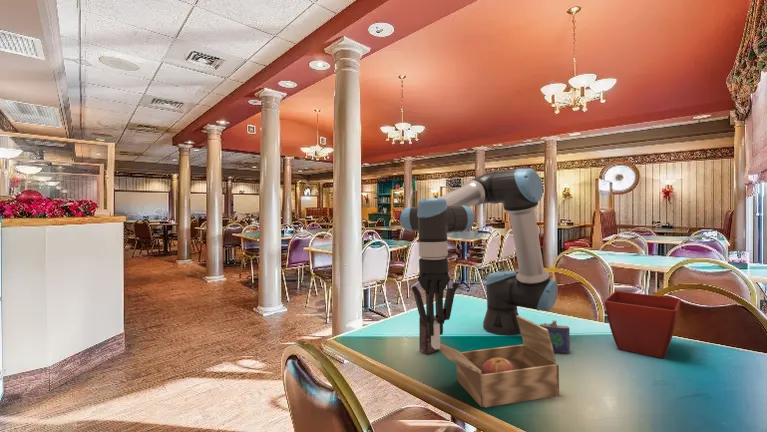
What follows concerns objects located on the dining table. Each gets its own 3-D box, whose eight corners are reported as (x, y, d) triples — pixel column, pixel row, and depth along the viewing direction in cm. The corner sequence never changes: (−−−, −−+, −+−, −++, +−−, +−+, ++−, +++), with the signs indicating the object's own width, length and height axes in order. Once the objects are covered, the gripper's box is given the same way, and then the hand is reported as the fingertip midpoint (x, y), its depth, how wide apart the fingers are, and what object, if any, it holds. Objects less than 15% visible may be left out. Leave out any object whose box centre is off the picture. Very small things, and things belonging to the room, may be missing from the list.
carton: (524, 370, 108) (523, 344, 108) (559, 395, 94) (558, 364, 94) (456, 380, 104) (456, 352, 103) (482, 407, 89) (481, 375, 89)
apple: (512, 400, 92) (511, 369, 92) (478, 391, 97) (477, 362, 97) (519, 385, 100) (518, 356, 99) (487, 378, 104) (486, 351, 104)
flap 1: (458, 350, 103) (432, 339, 101) (481, 371, 90) (451, 358, 88) (457, 353, 103) (430, 341, 101) (480, 374, 90) (450, 360, 88)
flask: (569, 352, 121) (568, 320, 121) (570, 355, 118) (569, 323, 118) (539, 348, 125) (539, 318, 124) (540, 352, 122) (539, 320, 122)
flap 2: (554, 362, 94) (546, 330, 94) (523, 344, 107) (516, 315, 107) (556, 361, 94) (548, 329, 94) (525, 343, 107) (518, 315, 107)
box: (427, 355, 122) (426, 320, 122) (419, 351, 126) (418, 316, 126) (440, 350, 125) (439, 316, 125) (432, 347, 129) (431, 313, 129)
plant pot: (681, 346, 123) (681, 297, 123) (677, 365, 109) (676, 310, 109) (616, 334, 136) (615, 290, 136) (604, 350, 122) (603, 300, 122)
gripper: (450, 254, 99) (453, 339, 99) (405, 257, 96) (407, 344, 96) (462, 257, 91) (465, 349, 92) (413, 260, 89) (416, 355, 89)
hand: (435, 347), depth 94 cm, fingers closed
